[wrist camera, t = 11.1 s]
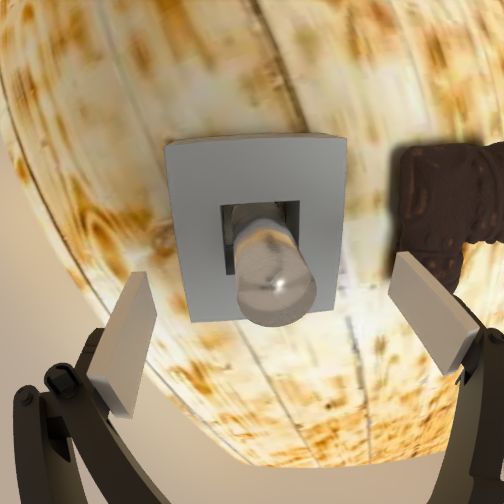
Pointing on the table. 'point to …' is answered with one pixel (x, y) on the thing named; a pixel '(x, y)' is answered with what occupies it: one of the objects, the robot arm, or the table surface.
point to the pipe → (450, 204)
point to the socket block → (254, 191)
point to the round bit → (269, 267)
